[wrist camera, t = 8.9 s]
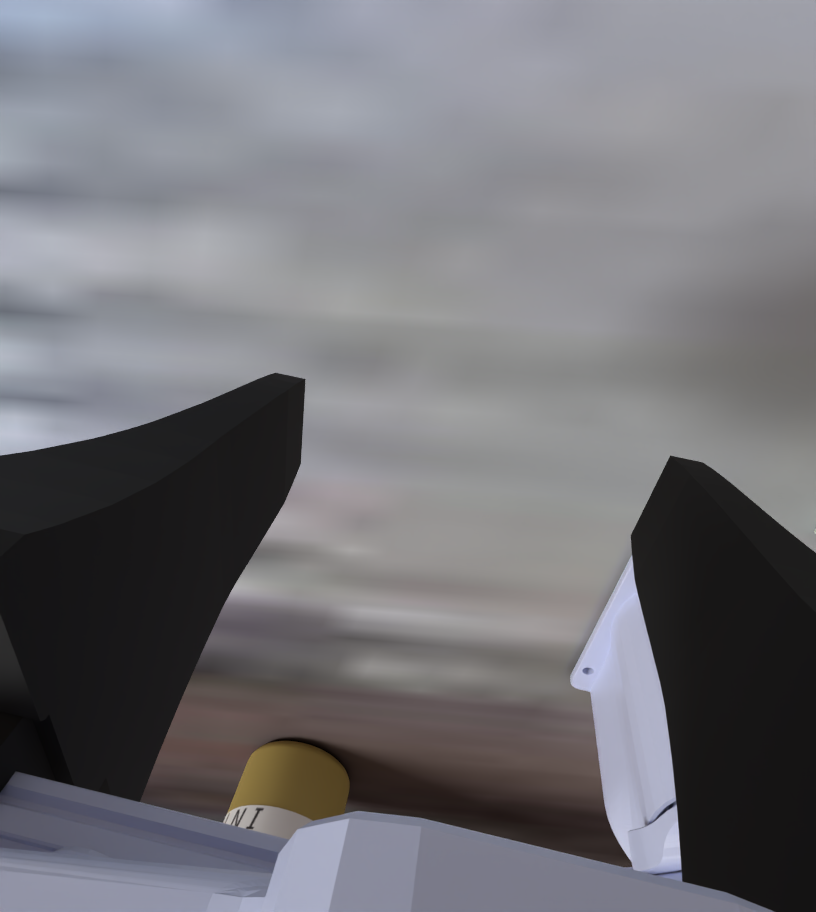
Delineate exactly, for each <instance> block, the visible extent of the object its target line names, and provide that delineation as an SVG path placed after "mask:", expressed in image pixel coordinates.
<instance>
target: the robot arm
mask: <svg viewBox="0 0 816 912" xmlns="http://www.w3.org/2000/svg"><path fill="white" fill-rule="evenodd" d="M304 394H305V379H302V378H297V377H293V376H288V375H283V374H278V373H274V374H270V375H267V376H265V377H262V378H260V379H257V380H255V381H253V382H250V383H248V384H246V385H243V386H241V387H239V388H237V389H234V390H232V391H230V392H227V393H225V394H223V395H220V396H218V397H216V398H213V399H211V400H209V401H206V402H204V403H202V404H199V405H196V406H194V407H191V408H188V409H186V410H183V411H180V412H178V413H175V414H172V415H170V416H167V417H164V418H162V419H159V420H156V421H153V422H150V423H147V424H144V425H141V426H138V427H134V428H131V429H128V430H124V431H120V432H117V433H113V434H109V435H106V436H102V437H98V438H94V439H89V440H84V441H79V442H74V443H69V444H64V445H60V446H55V447H50V448H45V449H40V450H35V451H29V452H22V453H15V454H8V455H2V456H0V912H816V553H815V552H814V551H812V550H811V549H810V548H809V547H807V546H806V545H805V544H804V543H802V542H801V541H800V540H799V539H797V538H796V537H795V536H794V535H792V534H791V533H790V532H789V531H787V530H786V529H785V528H784V527H783V526H781V525H780V524H779V523H778V522H777V521H775V520H774V519H773V518H772V517H771V516H769V515H768V514H767V513H766V512H765V511H763V510H762V509H761V508H760V507H759V506H757V505H756V504H755V503H754V502H753V501H752V500H750V499H749V498H748V497H747V496H746V495H744V494H743V493H742V492H741V491H740V490H738V489H737V488H736V487H735V486H734V485H732V484H731V483H730V482H729V481H727V480H726V479H725V478H724V477H722V476H721V475H720V474H719V473H717V472H716V471H714V470H713V469H712V468H710V467H709V466H707V465H706V464H704V463H702V462H698V461H693V460H688V459H683V458H679V457H674V456H670V457H669V459H668V462H667V464H666V466H665V468H664V470H663V472H662V474H661V476H660V478H659V480H658V482H657V484H656V486H655V488H654V490H653V492H652V494H651V496H650V498H649V500H648V502H647V504H646V506H645V508H644V510H643V512H642V514H641V516H640V518H639V520H638V522H637V524H636V526H635V528H634V530H633V532H632V534H631V545H632V556H631V558H630V559H629V561H628V563H627V565H626V567H625V569H624V571H623V573H622V575H621V577H620V579H619V581H618V583H617V585H616V587H615V589H614V591H613V593H612V595H611V597H610V599H609V601H608V603H607V605H606V607H605V609H604V611H603V613H602V615H601V616H600V618H599V620H598V622H597V624H596V626H595V628H594V630H593V632H592V634H591V636H590V638H589V640H588V642H587V644H586V646H585V648H584V650H583V652H582V654H581V656H580V658H579V660H578V662H577V664H576V666H575V668H574V670H573V672H572V673H571V676H570V680H571V685H572V686H573V687H575V688H577V689H580V690H585V691H589V692H590V693H591V700H592V708H593V716H594V724H595V732H596V740H597V748H598V756H599V764H600V772H601V780H602V788H603V796H604V803H605V808H606V813H607V817H608V820H609V823H610V826H611V828H612V830H613V833H614V835H615V837H616V839H617V840H618V842H619V844H620V845H621V847H622V849H623V850H624V852H625V853H626V855H627V856H628V858H629V859H630V860H631V862H632V867H627V868H624V867H620V866H616V865H612V864H608V863H604V862H599V861H595V860H591V859H587V858H583V857H579V856H575V855H571V854H567V853H563V852H559V851H554V850H550V849H546V848H542V847H538V846H534V845H530V844H526V843H522V842H518V841H513V840H509V839H505V838H501V837H497V836H493V835H489V834H485V833H481V832H477V831H473V830H468V829H464V828H460V827H456V826H452V825H448V824H444V823H440V822H436V821H432V820H427V819H423V818H417V817H408V816H399V815H390V814H381V813H372V812H364V811H356V812H351V813H346V814H342V815H337V816H333V817H328V818H324V819H319V820H314V821H311V822H310V823H308V824H306V825H304V826H303V827H301V828H299V829H297V831H296V832H295V833H294V834H293V836H292V837H291V838H290V839H285V838H281V837H277V836H273V835H269V834H265V833H261V832H257V831H253V830H249V829H245V828H241V827H237V826H233V825H229V824H225V823H221V822H217V821H213V820H209V819H205V818H201V817H197V816H193V815H189V814H185V813H181V812H177V811H173V810H169V809H165V808H161V807H157V806H153V805H149V804H145V803H141V802H140V800H141V797H142V795H143V792H144V789H145V787H146V784H147V782H148V779H149V777H150V774H151V771H152V769H153V766H154V764H155V761H156V759H157V756H158V754H159V751H160V749H161V746H162V744H163V742H164V739H165V737H166V734H167V732H168V729H169V727H170V725H171V722H172V720H173V717H174V715H175V713H176V710H177V708H178V705H179V703H180V701H181V698H182V696H183V694H184V691H185V689H186V687H187V684H188V682H189V680H190V678H191V675H192V673H193V671H194V669H195V666H196V664H197V662H198V659H199V657H200V655H201V653H202V650H203V648H204V646H205V644H206V642H207V640H208V637H209V635H210V633H211V631H212V629H213V627H214V625H215V622H216V620H217V618H218V616H219V614H220V612H221V609H222V607H223V605H224V603H225V601H226V600H227V598H228V596H229V594H230V592H231V590H232V589H233V587H234V585H235V583H236V582H237V580H238V578H239V577H240V575H241V574H242V572H243V570H244V569H245V567H246V565H247V564H248V562H249V560H250V559H251V557H252V556H253V554H254V552H255V551H256V549H257V547H258V546H259V544H260V542H261V541H262V539H263V538H264V536H265V534H266V533H267V531H268V529H269V528H270V526H271V524H272V523H273V521H274V519H275V518H276V516H277V514H278V513H279V511H280V509H281V507H282V506H283V504H284V502H285V500H286V498H287V495H288V493H289V491H290V489H291V486H292V484H293V481H294V479H295V476H296V474H297V472H298V469H299V467H300V464H301V448H302V430H303V412H304ZM587 667H588V668H587Z"/></svg>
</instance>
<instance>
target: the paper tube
mask: <svg viewBox="0 0 816 912" xmlns="http://www.w3.org/2000/svg"><path fill="white" fill-rule="evenodd" d="M349 788H350V781H349V778H348V775H347V772H346V770H345V768H344V767H343V766H342V764H341V763H340V762H339V761H338V760H337V759H335V758H334V757H333V756H332V755H330V754H329V753H327V752H325V751H324V750H322V749H320V748H317V747H315V746H312V745H309V744H305V743H301V742H296V741H276V742H271V743H267V744H265V745H263V746H261V747H260V748H258V749H257V750H256V751H255V752H253V753H252V755H251V756H250V758H249V760H248V762H247V765H246V767H245V770H244V772H243V775H242V777H241V780H240V783H239V785H238V788H237V790H236V793H235V795H234V798H233V800H232V803H231V805H230V808H229V810H228V813H227V815H226V817H225V819H224V822H223V823H225V824H229V825H233V826H237V827H241V828H245V829H249V830H253V831H257V832H261V833H265V834H269V835H273V836H277V837H281V838H285V839H290V838H291V837H292V836H293V834H294V833H295V832H296V831H297V829H299V828H301V827H303V826H304V825H306V824H308V823H310V822H311V821H314V820H319V819H324V818H328V817H333V816H337V815H342V814H344V811H345V807H346V803H347V798H348V794H349Z"/></svg>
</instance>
